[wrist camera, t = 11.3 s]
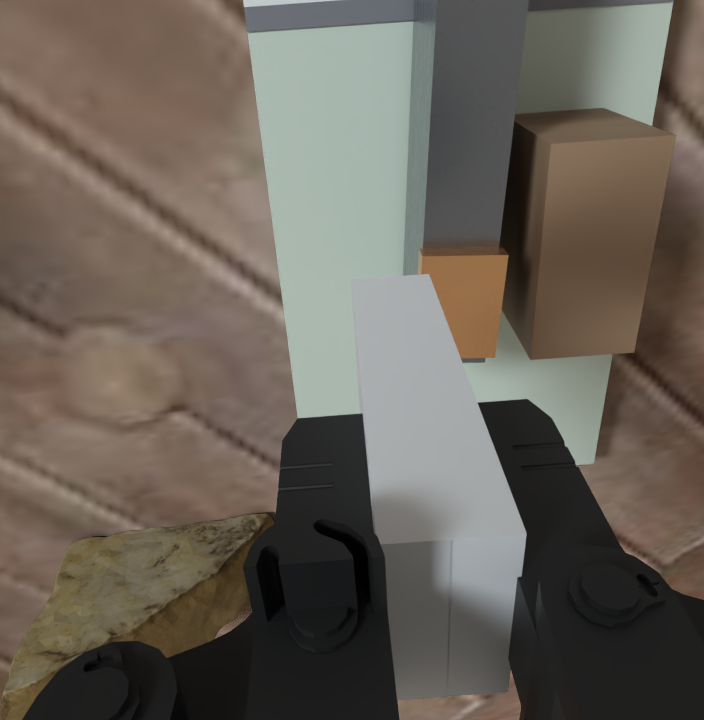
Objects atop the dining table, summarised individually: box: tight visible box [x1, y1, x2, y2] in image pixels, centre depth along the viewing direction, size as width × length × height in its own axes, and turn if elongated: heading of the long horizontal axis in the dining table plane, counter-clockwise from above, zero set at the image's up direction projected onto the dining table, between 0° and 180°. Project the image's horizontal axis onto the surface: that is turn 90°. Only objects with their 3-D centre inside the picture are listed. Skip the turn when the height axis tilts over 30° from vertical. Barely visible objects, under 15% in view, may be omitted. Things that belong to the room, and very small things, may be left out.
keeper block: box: [499, 108, 676, 360], centre depth 18 cm, size 6×3×4 cm, turn 4°
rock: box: [0, 513, 274, 720], centre depth 27 cm, size 11×9×10 cm
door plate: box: [243, 0, 675, 465], centre depth 18 cm, size 32×12×2 cm, turn 4°
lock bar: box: [403, 0, 529, 363], centre depth 15 cm, size 17×3×5 cm, turn 0°
